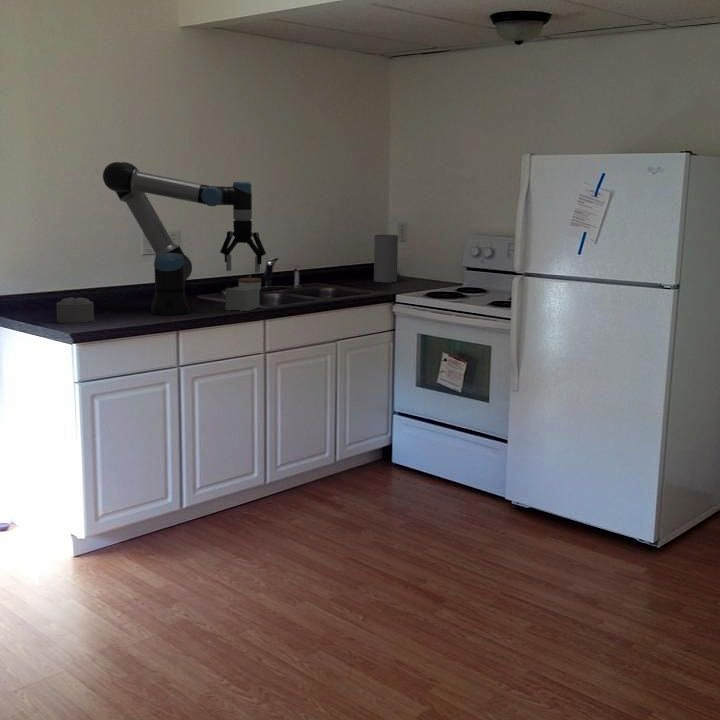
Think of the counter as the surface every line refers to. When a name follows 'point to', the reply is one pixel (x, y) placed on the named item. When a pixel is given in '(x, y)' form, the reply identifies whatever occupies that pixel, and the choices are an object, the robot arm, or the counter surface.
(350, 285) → the counter surface
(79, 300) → the lumpy-topped squat cylinder
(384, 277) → the cylinder vase
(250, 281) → the lidded jar
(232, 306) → the wide gray carton
